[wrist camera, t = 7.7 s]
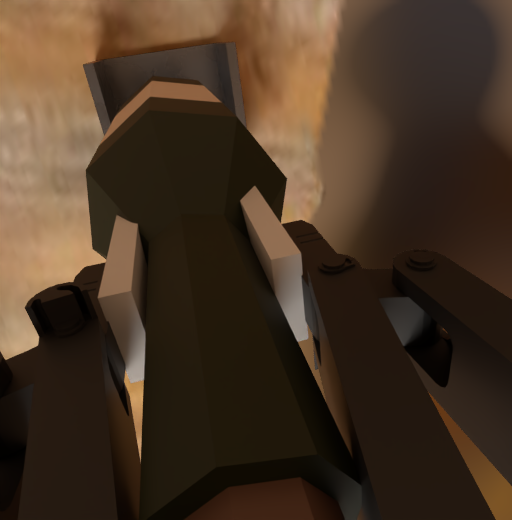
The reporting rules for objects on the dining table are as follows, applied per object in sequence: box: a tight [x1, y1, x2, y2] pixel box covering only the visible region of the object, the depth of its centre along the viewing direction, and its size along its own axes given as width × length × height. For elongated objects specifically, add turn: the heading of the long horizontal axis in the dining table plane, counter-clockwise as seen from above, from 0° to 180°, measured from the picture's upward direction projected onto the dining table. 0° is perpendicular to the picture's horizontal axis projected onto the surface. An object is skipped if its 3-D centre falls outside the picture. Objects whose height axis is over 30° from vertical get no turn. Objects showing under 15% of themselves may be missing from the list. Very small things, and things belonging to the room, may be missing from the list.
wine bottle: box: [86, 76, 362, 520], centre depth 18 cm, size 8×8×30 cm
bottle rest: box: [83, 42, 247, 136], centre depth 40 cm, size 13×12×8 cm
